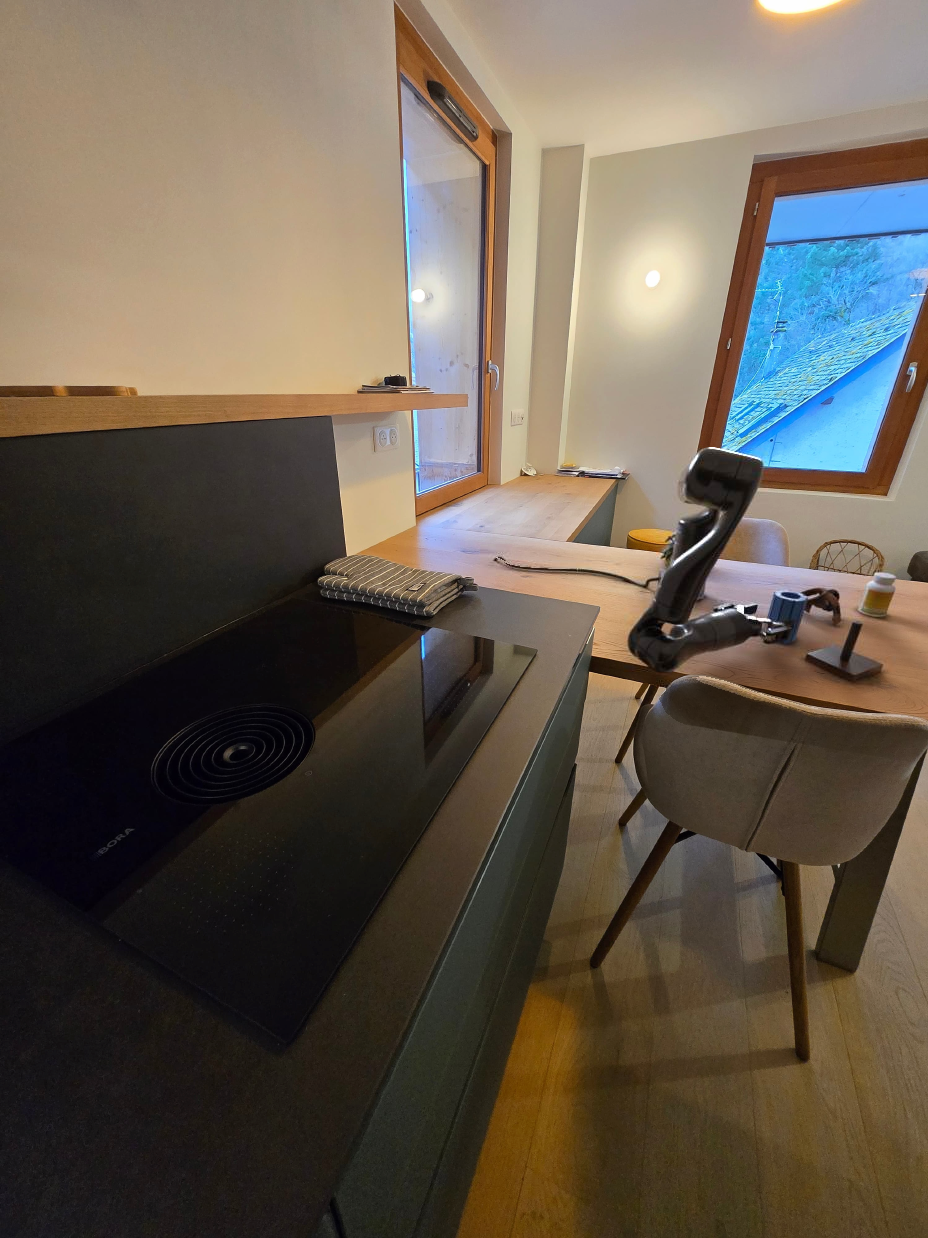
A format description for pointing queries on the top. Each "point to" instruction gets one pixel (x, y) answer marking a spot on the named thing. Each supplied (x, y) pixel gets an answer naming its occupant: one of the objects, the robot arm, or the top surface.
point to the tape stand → (845, 658)
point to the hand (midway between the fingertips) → (773, 615)
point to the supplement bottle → (878, 595)
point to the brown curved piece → (824, 602)
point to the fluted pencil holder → (787, 610)
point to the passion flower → (668, 550)
